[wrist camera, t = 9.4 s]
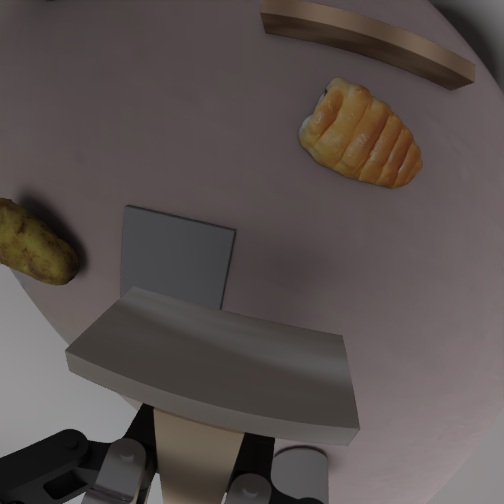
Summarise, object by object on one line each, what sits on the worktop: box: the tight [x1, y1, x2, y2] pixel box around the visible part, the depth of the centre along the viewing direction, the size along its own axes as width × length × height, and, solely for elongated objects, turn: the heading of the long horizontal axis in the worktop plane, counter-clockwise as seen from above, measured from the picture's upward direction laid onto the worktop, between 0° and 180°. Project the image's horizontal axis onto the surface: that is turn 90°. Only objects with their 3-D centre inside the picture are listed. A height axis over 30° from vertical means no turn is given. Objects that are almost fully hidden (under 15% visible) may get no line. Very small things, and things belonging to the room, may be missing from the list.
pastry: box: [299, 78, 423, 189], centre depth 19 cm, size 9×7×4 cm
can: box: [271, 448, 329, 504], centre depth 27 cm, size 8×8×12 cm
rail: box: [260, 0, 476, 90], centre depth 16 cm, size 16×2×4 cm, turn 78°
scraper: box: [65, 286, 360, 504], centre depth 10 cm, size 11×8×4 cm
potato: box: [0, 198, 79, 285], centre depth 24 cm, size 8×13×8 cm, turn 38°
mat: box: [120, 205, 236, 310], centre depth 27 cm, size 10×15×1 cm, turn 168°
